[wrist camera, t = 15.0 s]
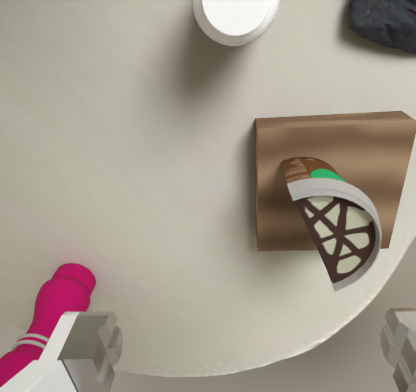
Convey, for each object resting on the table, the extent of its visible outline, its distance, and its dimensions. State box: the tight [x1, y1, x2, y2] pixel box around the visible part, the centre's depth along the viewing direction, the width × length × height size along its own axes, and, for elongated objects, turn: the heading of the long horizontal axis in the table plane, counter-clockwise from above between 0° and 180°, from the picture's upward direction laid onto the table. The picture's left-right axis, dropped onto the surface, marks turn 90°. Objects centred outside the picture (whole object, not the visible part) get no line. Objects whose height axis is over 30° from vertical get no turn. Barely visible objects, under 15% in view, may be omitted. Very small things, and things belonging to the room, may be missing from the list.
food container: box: [282, 156, 382, 291], centre depth 34 cm, size 12×6×10 cm, turn 28°
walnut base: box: [255, 111, 416, 251], centre depth 40 cm, size 16×16×4 cm
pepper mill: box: [0, 263, 96, 387], centre depth 45 cm, size 7×7×20 cm
